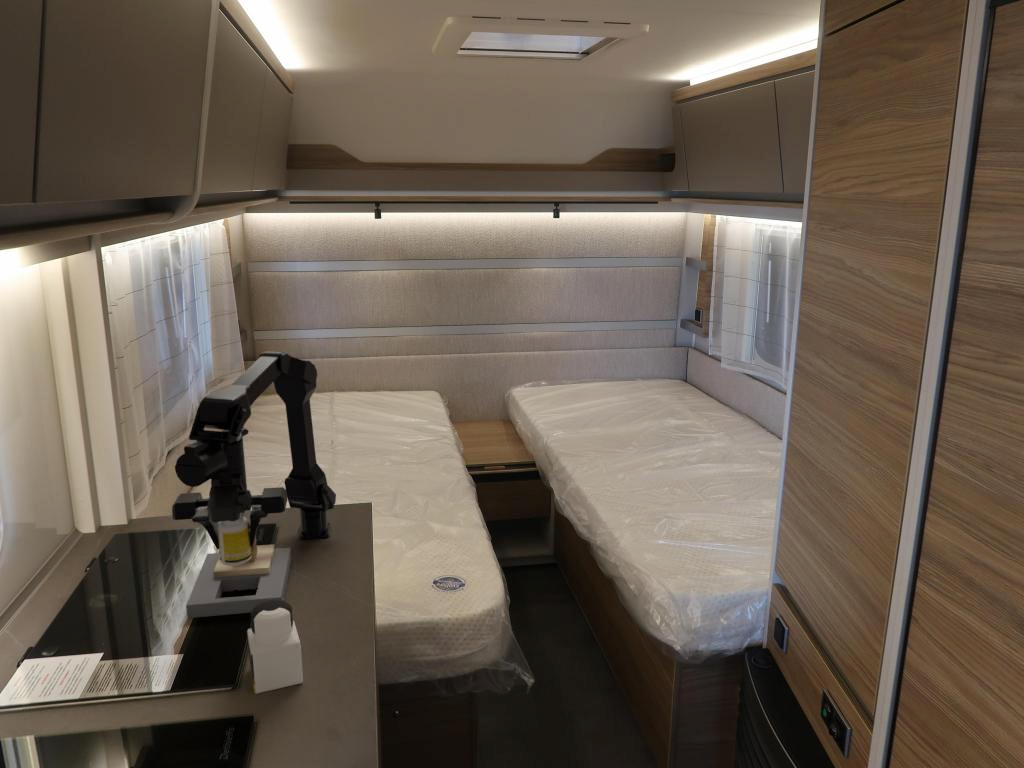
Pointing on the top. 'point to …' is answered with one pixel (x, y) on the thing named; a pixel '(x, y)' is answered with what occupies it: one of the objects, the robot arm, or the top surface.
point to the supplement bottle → (234, 541)
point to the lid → (249, 563)
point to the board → (237, 587)
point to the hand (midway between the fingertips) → (235, 546)
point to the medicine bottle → (274, 647)
